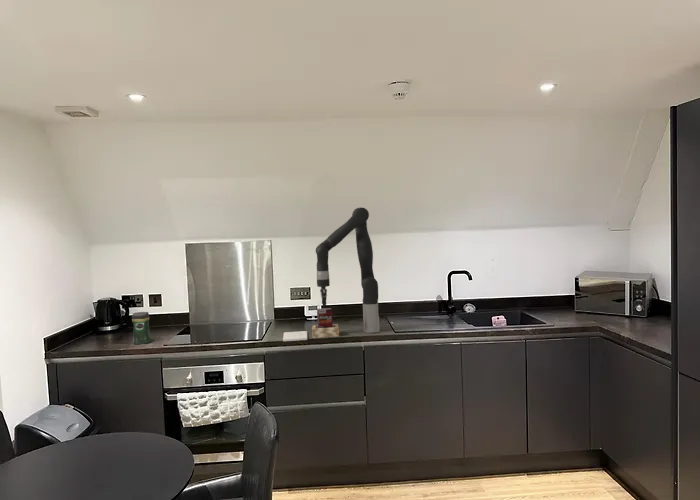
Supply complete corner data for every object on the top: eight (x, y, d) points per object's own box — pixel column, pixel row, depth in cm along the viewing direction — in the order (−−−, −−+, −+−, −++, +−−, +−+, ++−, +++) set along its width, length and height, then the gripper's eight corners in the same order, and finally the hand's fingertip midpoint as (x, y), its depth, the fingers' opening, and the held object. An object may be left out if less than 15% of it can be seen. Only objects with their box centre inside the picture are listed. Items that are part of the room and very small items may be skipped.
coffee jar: (152, 341, 320) (150, 310, 319) (149, 343, 312) (147, 312, 311) (135, 342, 319) (133, 311, 318) (132, 345, 311) (130, 313, 310)
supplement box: (319, 336, 313) (318, 309, 312) (317, 334, 317) (316, 308, 317) (333, 335, 315) (332, 308, 314) (331, 333, 320) (330, 307, 319)
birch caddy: (337, 332, 323) (337, 324, 322) (339, 336, 311) (338, 327, 311) (312, 333, 321) (312, 325, 321) (312, 337, 310) (312, 329, 310)
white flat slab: (306, 332, 325) (306, 331, 325) (307, 339, 305) (307, 338, 305) (284, 334, 324) (283, 332, 324) (282, 341, 304) (282, 339, 304)
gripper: (330, 279, 308) (331, 306, 309) (328, 276, 322) (329, 303, 323) (317, 279, 307) (318, 307, 308) (316, 277, 321) (317, 303, 322)
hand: (324, 305), depth 315 cm, fingers open, 8 cm apart
